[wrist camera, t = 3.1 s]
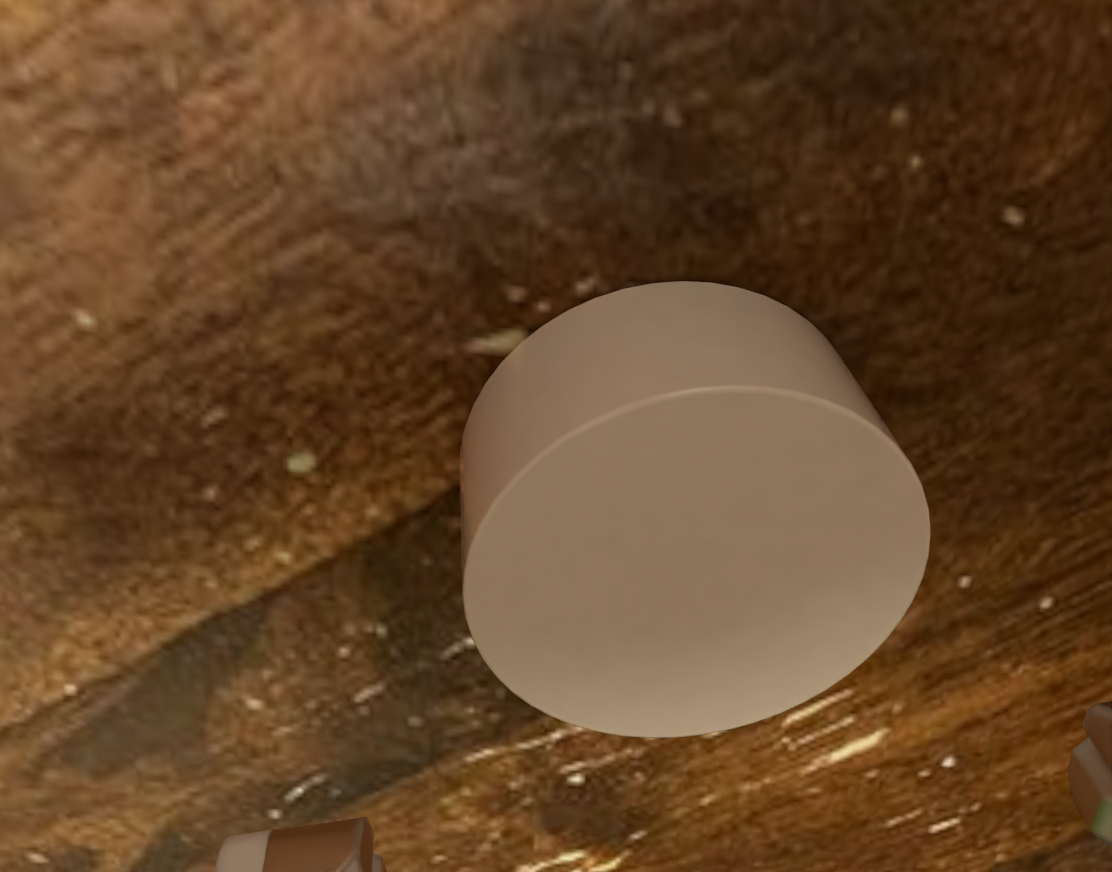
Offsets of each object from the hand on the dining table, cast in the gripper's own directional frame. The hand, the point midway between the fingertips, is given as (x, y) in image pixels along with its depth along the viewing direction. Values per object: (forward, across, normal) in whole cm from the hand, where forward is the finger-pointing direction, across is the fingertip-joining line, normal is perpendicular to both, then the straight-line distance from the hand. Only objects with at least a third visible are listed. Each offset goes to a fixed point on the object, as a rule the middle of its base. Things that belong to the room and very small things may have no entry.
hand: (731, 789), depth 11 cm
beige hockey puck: (+6, 0, 0) cm, 6 cm away
